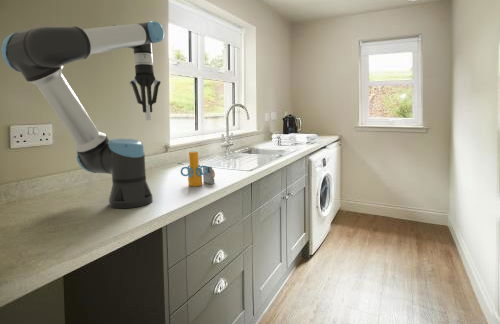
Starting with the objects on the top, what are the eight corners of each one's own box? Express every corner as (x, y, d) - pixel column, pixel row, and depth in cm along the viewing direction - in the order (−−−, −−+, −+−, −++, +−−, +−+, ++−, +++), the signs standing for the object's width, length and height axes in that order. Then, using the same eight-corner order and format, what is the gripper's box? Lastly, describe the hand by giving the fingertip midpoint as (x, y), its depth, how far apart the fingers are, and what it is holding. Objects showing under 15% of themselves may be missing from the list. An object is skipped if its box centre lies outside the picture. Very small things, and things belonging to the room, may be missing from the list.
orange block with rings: (200, 188, 149) (198, 153, 146) (178, 187, 152) (176, 153, 149) (211, 182, 160) (210, 150, 158) (191, 181, 163) (189, 150, 161)
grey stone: (210, 184, 156) (209, 167, 154) (203, 181, 162) (202, 164, 161) (216, 183, 157) (216, 166, 156) (209, 180, 164) (208, 164, 163)
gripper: (130, 62, 143) (135, 120, 147) (161, 64, 150) (165, 119, 153) (126, 65, 149) (131, 120, 153) (156, 66, 156) (160, 119, 160)
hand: (148, 120), depth 153 cm, fingers closed
